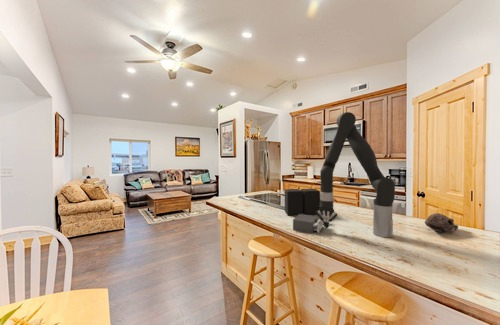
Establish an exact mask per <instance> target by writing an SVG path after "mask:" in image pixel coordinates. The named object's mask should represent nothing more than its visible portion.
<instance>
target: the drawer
mask: <svg viewBox="0 0 500 325" xmlns="http://www.w3.org/2000/svg"><path fill="white" fill-rule="evenodd" d="M321 216H322V217H323V215H321ZM323 227H324V224H323V221H322V220H320V218H319V219H318V222H317V228H313V230H314V232H317V233H320V231H321V230H322V228H323Z"/></svg>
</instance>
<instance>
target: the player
mask: <svg viewBox="0 0 500 325" xmlns="http://www.w3.org/2000/svg"><path fill="white" fill-rule="evenodd" d="M318 218H319V217H318V215H305V214H304V213H303V214H299V215H295V217H294V218H293V219H292V230H293V231H297V232H304V233H309V234H313V233H314V232H315V231H314V230H313V223H314V222H318V220H319V219H318Z"/></svg>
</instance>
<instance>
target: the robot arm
mask: <svg viewBox="0 0 500 325" xmlns="http://www.w3.org/2000/svg"><path fill="white" fill-rule="evenodd" d="M356 121H357V120H356V116H355V114H354V113H352V112H350V111H347V112H346V111H345V112H343V113H342V114H340V115H338V117H337V118H336V125H337V129H336V133H335V135H334V138H333V139H332V140H331V144H330V146H329V148H328V150H327V152H326V156H325V160H324V162H323V165H322V167H321V169H320V173H319V174H320V209H319V210H318V211H316V214H317V215H316V216H318V218H319V219H320V220H322V221H324V224H323V227H324V229H329V227H330V223H331V222H333V221H334V220H335V219H336V217H337V216H338V215H339V213H337V212H336V211H335V209H334V199H335V198H334V186H333V181H334V180H333V179H334V170H335V167H336V165H337V162H338V161H339V159H340V156H341V153H342V150H343V148H344V145H345V144H346V140H347V142H348V144H349V146H350V148H351V150H352V152H353V154H354V156H355V157H356V159H357V160H358V162H359V164H360V166H361V167H362V169H363V170H364V173H365V174H366V176H367V178H368V181H369V183H370V184H371V187H372V189H373V190H375V191H376V196H375V198H374V199H373V221H372V222H373V223H372V224H373V225H372V226H373V227H372V230H373V231H372V234H373V235H375V236H376V237H381V238H393V237H394V236H393V234H394V232H393V231H394V228H393V227H394V220H393V208H394V207H393V205H394V202H395V195H396V194H395V193H396V192H395V191H396V185H395V181H394V180H393V179H391V177H388V176H387V177H386V176H384V174H383V172H381V170H380V168H379V166H378V161H377V156H376V153H375V151H374V150H373V148H372V146H371V145H370V143H369V142H368V141H367V140H366V138H364V137H363V136H362V134H361V133H360V131H359V130H358V129H357V127H356ZM322 216H323V217H322ZM331 216H332V217H331ZM330 217H331V218H330ZM326 218H327V221H326Z"/></svg>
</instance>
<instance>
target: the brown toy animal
mask: <svg viewBox="0 0 500 325" xmlns="http://www.w3.org/2000/svg"><path fill="white" fill-rule="evenodd" d="M454 222H455V220H454V219H453V218H449V217H448V216H446V215H445V214H443V213H439V212H438V213H437V212H436V213H433V214H430V215H429V216H428V217H427V219H426V220H425V221H424V224H425V225H426V227H428V228H430V229H431V230H433V231H435V232H438V233H442V232H444V230H450V231H451V230H453V231H455V232H456V231H457V230H458V229H459V225H458V224H455V223H454Z"/></svg>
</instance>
